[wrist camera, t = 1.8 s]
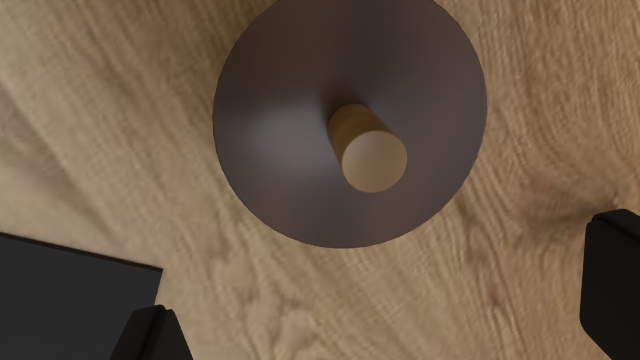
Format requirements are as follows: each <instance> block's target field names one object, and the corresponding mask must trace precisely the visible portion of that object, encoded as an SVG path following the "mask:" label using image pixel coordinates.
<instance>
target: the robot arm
mask: <svg viewBox="0 0 640 360" xmlns="http://www.w3.org/2000/svg"><path fill="white" fill-rule="evenodd" d="M580 322H581V325H582V327H583V329H584V330H585V332H586V333H587V334H588V335H589V336H590V337H591V338H592V340H593V341H594V342H595V343H596V344H597V345H598V346H599V347H600V348H601V349H602V350H603V351H604V352H605V353H606V354H607V355H608V356H609V357H610V358H611V359H612V360H640V216H638V215H636V214H635V213H633V212H631V211H629V210H627V209H617V210H613V211H608V212H603V213H598V214H596V215H594V216H593V218H592V221H591V222H589V223H588V224H587V226H586V233H585V247H584V261H583V274H582V288H581V302H580ZM109 360H193V358H192V355H191V353H190V350H189V347H188V345H187V342H186V340H185V337H184V335H183V332H182V330H181V327H180V325H179V322H178V320H177V317H176V315H175V313H174V311H173V310H172V309H169V310H166V308H165V307H164V306H163V305H155V306H150V307H145V308H140V309H136V310H134V311H133V312H132V314H131V315H130V317H129V319H128V322H127V324H126V326H125V328H124V330H123V332H122V334H121V336H120V338H119V340H118V342H117V344H116V346H115V348H114V350H113V352H112V354H111V356H110V358H109Z"/></svg>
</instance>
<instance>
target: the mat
mask: <svg viewBox="0 0 640 360" xmlns="http://www.w3.org/2000/svg"><path fill="white" fill-rule="evenodd" d="M162 271H163V269H160V268H156V267H151V266H147V265H142V264H138V263H133V262H129V261H124V260H120V259H115V258H111V257H106V256H102V255H97V254H93V253H88V252H84V251H79V250H75V249H70V248H66V247H61V246H57V245H53V244H48V243H44V242H39V241H35V240H30V239H26V238H21V237H17V236H12V235H8V234H3V233H0V360H109V358H110V356H111V354H112V352H113V350H114V348H115V346H116V344H117V342H118V340H119V338H120V336H121V334H122V332H123V330H124V328H125V326H126V324H127V322H128V319H129V317H130V315H131V314H132V312H133V311H134V310H136V309H140V308H145V307H150V306H154V303H155V299H156V295H157V291H158V287H159V283H160V279H161V275H162Z"/></svg>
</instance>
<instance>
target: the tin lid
mask: <svg viewBox="0 0 640 360" xmlns="http://www.w3.org/2000/svg"><path fill="white" fill-rule="evenodd" d="M486 116H487V95H486V86H485V81H484V75H483V71H482V68H481V65H480V62H479V59H478V56H477V54H476V52H475V50H474V48H473V46H472V44H471V42H470V40H469V38H468V37H467V35H466V34H465V32H464V31H463V30H462V28H461V27H460V25H459V24H458V23H457V22H456V21H455V20H454V19H453V17H452V16H451V15H450V14H449V13H448V12H447V11H446V10H445V9H443V8H442V7H441V6H440V5H438V4H437V3H436V2H434V1H433V0H278V1H277V2H275V3H274V4H273V5H271V6H270V7H269V8H267V9H266V10H265V11H264V12H262V13H261V14H260V15H259V16H258V17H257V18H256V19H255V20H254V21H253V22H252V23H251V24H250V25H249V26H248V27H247V29H246V30H245V31H244V33H243V34H242V35H241V37H240V38H239V39H238V41H237V42H236V43H235V45H234V47H233V48H232V50H231V52H230V54H229V56H228V58H227V59H226V61H225V64H224V66H223V69H222V72H221V74H220V77H219V79H218V84H217V88H216V92H215V97H214V105H213V116H212V117H213V136H214V141H215V147H216V152H217V155H218V158H219V161H220V164H221V167H222V170H223V172H224V174H225V176H226V178H227V180H228V182H229V184H230V186H231V187H232V189H233V190H234V192H235V193H236V195H237V196H238V198H239V199H240V200H241V201H242V202H243V204H244V205H245V206H246V207H247V208H248V209H249V210H250V211H251V212H252V213H253V214H254V215H255V216H256V217H257V218H259V219H260V220H261V221H262V222H264V223H265V224H266V225H268V226H269V227H271V228H272V229H274V230H275V231H277V232H279V233H281V234H283V235H285V236H287V237H289V238H292V239H294V240H297V241H300V242H303V243H306V244H310V245H315V246H319V247H327V248H358V247H366V246H371V245H375V244H380V243H383V242H386V241H389V240H392V239H395V238H397V237H400V236H402V235H404V234H406V233H408V232H410V231H412V230H414V229H415V228H417V227H418V226H420V225H422V224H423V223H425V222H426V221H427V220H429V219H430V218H431V217H432V216H434V215H435V214H436V213H437V212H439V211H440V210H441V209H442V208H443V207H444V206H445V205H446V204H447V203H448V202H449V201H450V200H451V199H452V197H453V196H454V195H455V194H456V192H457V191H458V190H459V189H460V187H461V186H462V184H463V183H464V181H465V179H466V178H467V176H468V175H469V173H470V171H471V169H472V167H473V165H474V163H475V161H476V158H477V156H478V153H479V150H480V147H481V144H482V141H483V136H484V131H485V126H486Z"/></svg>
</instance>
